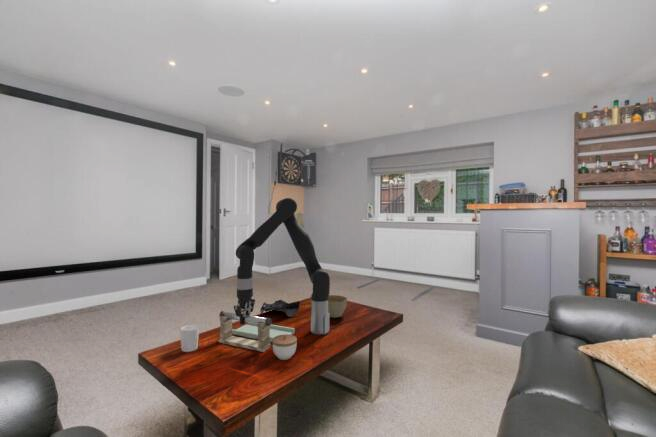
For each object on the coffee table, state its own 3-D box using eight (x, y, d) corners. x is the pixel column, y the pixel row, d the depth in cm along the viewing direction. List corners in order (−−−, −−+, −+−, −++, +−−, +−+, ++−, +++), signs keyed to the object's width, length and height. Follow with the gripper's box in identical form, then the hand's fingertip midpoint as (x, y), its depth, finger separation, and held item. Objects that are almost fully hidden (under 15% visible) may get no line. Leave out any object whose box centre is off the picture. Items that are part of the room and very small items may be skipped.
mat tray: (294, 332, 158) (294, 328, 158) (279, 343, 144) (279, 339, 144) (248, 324, 169) (248, 320, 169) (230, 334, 155) (230, 329, 155)
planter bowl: (347, 320, 178) (347, 301, 178) (320, 319, 178) (320, 301, 178) (346, 311, 194) (346, 294, 194) (321, 311, 194) (321, 294, 194)
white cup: (202, 347, 139) (202, 326, 139) (188, 354, 132) (188, 331, 132) (190, 344, 143) (190, 323, 143) (176, 350, 135) (176, 329, 135)
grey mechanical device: (279, 308, 200) (279, 294, 200) (301, 314, 188) (301, 300, 188) (258, 315, 186) (258, 300, 186) (280, 322, 174) (280, 306, 174)
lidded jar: (275, 350, 136) (275, 330, 136) (298, 351, 136) (298, 330, 136) (269, 362, 126) (269, 340, 126) (295, 362, 125) (295, 340, 125)
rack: (270, 346, 140) (271, 320, 140) (263, 352, 135) (263, 324, 135) (227, 337, 150) (227, 313, 150) (218, 342, 145) (218, 316, 145)
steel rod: (271, 324, 139) (271, 317, 139) (267, 327, 136) (267, 319, 136) (224, 316, 150) (224, 310, 150) (219, 318, 146) (219, 312, 146)
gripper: (241, 291, 135) (241, 329, 135) (260, 284, 148) (260, 319, 148) (228, 289, 137) (228, 327, 138) (247, 283, 150) (247, 317, 151)
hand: (244, 323), depth 143 cm, fingers closed on steel rod, 3 cm apart
